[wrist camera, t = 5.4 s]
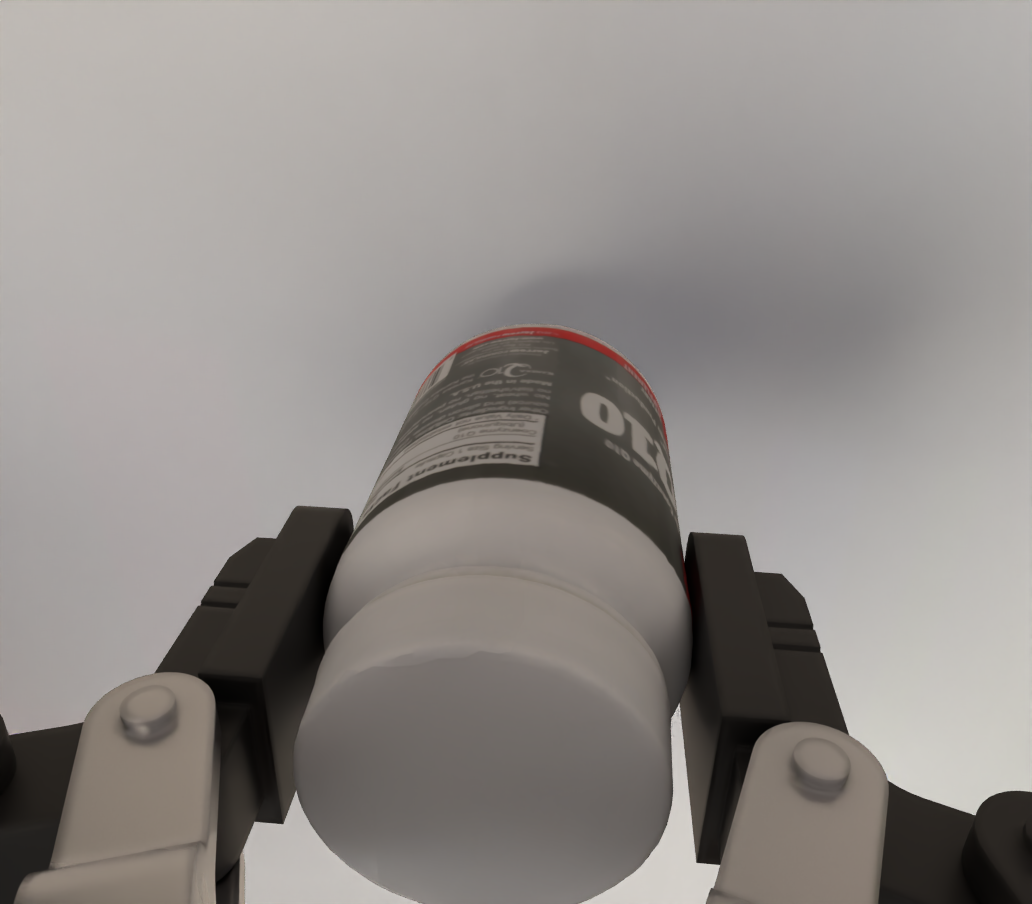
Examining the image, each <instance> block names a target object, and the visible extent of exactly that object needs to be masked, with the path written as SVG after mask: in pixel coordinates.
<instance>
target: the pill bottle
mask: <svg viewBox="0 0 1032 904" xmlns="http://www.w3.org/2000/svg"><path fill="white" fill-rule="evenodd" d="M323 642H324V649H325V654H324V656H323V659H322V661H321V663H320V666H319V669H318V672H317V675H316V680H315V685H314V687H313V690H312V693H311V696H310V699H309V702H308V704H307V707H306V710H305V713H304V715H303V718H302V721H301V723H300V727H299V730H298V734H297V737H296V740H295V745H294V753H293V775H294V782H295V787H296V790H297V794H298V798H299V801H300V804H301V806H302V808H303V811H304V813H305V815H306V816H307V818H308V820H309V822H310V824H311V826H312V827H313V828H314V830H315V831H316V833H317V834H318V835H319V837H320V838H321V839H322V840H323V842H324V843H325V844H326V845H327V847H328V848H329V849H330V850H331V851H332V852H333V853H335V854H336V855H337V856H338V857H339V858H340V859H341V860H343V861H344V862H345V863H346V864H347V865H348V866H349V867H351V868H352V869H354V870H355V871H357V872H358V873H360V874H361V875H362V876H364V877H365V878H367V879H368V880H370V881H371V882H373V883H375V884H377V885H378V886H380V887H382V888H384V889H386V890H388V891H391V892H393V893H395V894H398V895H400V896H403V897H405V898H408V899H411V900H414V901H417V902H419V903H422V904H578V903H581V902H584V901H587V900H589V899H591V898H593V897H595V896H597V895H599V894H601V893H603V892H605V891H606V890H608V889H610V888H612V887H614V886H615V885H617V884H618V883H619V882H621V881H622V880H624V879H625V878H626V877H628V876H629V875H631V874H632V873H634V872H635V871H636V870H637V869H638V868H639V867H640V866H641V865H642V864H643V863H644V861H645V860H646V859H647V858H648V857H649V855H650V853H651V852H652V851H653V849H654V848H655V847H656V846H657V844H658V843H659V841H660V839H661V837H662V835H663V832H664V830H665V828H666V826H667V822H668V818H669V814H670V810H671V806H672V797H673V777H672V753H671V718H672V716H673V714H674V712H675V710H676V708H677V706H678V704H679V702H680V700H681V698H682V696H683V693H684V690H685V688H686V685H687V683H688V678H689V674H690V669H691V660H692V649H693V631H692V606H691V603H690V598H689V591H688V583H687V576H686V571H685V564H684V558H683V550H682V544H681V536H680V528H679V523H678V514H677V508H676V500H675V493H674V486H673V478H672V471H671V464H670V456H669V449H668V440H667V434H666V428H665V423H664V419H663V415H662V412H661V409H660V406H659V403H658V401H657V399H656V396H655V394H654V392H653V391H652V389H651V387H650V385H649V384H648V382H647V381H646V379H645V377H644V376H643V375H642V374H641V372H640V371H639V370H638V369H637V368H636V367H635V366H634V365H633V364H632V363H631V362H630V361H629V360H628V359H627V358H626V357H625V356H624V355H623V354H621V353H620V352H619V351H617V350H616V349H615V348H613V347H612V346H610V345H609V344H607V343H606V342H604V341H602V340H601V339H598V338H596V337H594V336H592V335H590V334H588V333H585V332H582V331H579V330H576V329H573V328H569V327H565V326H559V325H551V324H519V325H510V326H505V327H500V328H496V329H493V330H489V331H486V332H484V333H481V334H479V335H476V336H474V337H472V338H470V339H468V340H467V341H465V342H463V343H462V344H460V345H459V346H457V347H456V348H454V349H453V350H452V351H450V352H449V353H448V354H447V355H446V356H445V357H444V358H443V359H442V360H441V361H440V362H439V363H438V364H437V365H436V366H435V367H434V368H433V370H432V371H431V372H430V374H429V375H428V376H427V378H426V379H425V381H424V382H423V384H422V386H421V387H420V389H419V391H418V393H417V395H416V397H415V400H414V402H413V404H412V406H411V408H410V410H409V412H408V415H407V417H406V419H405V421H404V423H403V425H402V428H401V430H400V432H399V434H398V436H397V438H396V441H395V443H394V445H393V447H392V449H391V452H390V454H389V456H388V458H387V460H386V462H385V464H384V467H383V469H382V471H381V473H380V475H379V477H378V479H377V481H376V484H375V486H374V488H373V490H372V493H371V494H370V496H369V499H368V501H367V504H366V506H365V508H364V510H363V512H362V514H361V516H360V518H359V521H358V523H357V525H356V527H355V529H354V531H353V533H352V536H351V537H350V539H349V541H348V543H347V545H346V547H345V549H344V551H343V553H342V555H341V557H340V560H339V562H338V564H337V567H336V571H335V574H334V576H333V579H332V581H331V584H330V587H329V591H328V594H327V598H326V602H325V609H324V616H323Z"/></svg>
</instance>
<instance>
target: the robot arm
mask: <svg viewBox="0 0 1032 904" xmlns="http://www.w3.org/2000/svg"><path fill="white" fill-rule="evenodd" d="M353 531H354V527H353V519H352V515H351V512H350V510H349V509H342V508H326V507H311V506H296V507H295V508H294V510H293V511H292V513H291V514H290V516H289V518H288V520H287V521H286V523H285V525H284V526H283V528H282V530H281V532H280V533H279V535H278V537H277V538H276V539H273V538H258V537H257V538H256V539H254V540H253V541H252V542H250V543H249V544H247V545H246V546H245V547H243V548H242V549H240V550H239V551H238V552H236V553H235V554H233V555H232V556H231V557H229V559H228V560H227V562H226V564H225V565H224V567H223V568H222V570H221V571H220V573H219V574H218V576H217V577H216V579H215V581H214V586H211V587H210V588H209V590H208V591H207V593H206V594H205V596H204V597H203V599H202V601H201V606H198V607H197V608H196V610H195V611H194V613H193V614H192V616H191V618H190V619H189V621H188V622H187V624H186V625H185V627H184V628H183V630H182V631H181V633H180V634H179V636H178V638H177V639H176V641H175V642H174V644H173V645H172V647H171V648H170V650H169V651H168V653H167V655H166V656H165V658H164V659H163V661H162V662H161V664H160V665H159V667H158V668H157V670H156V671H155V673H154V674H150V675H145V676H142V677H138V678H135V679H133V680H130V681H128V682H125V683H123V684H121V685H120V686H118V687H116V688H114V689H113V690H111V691H110V692H108V693H107V694H105V695H104V696H103V697H102V698H101V699H100V700H99V701H97V702H96V704H95V705H94V706H93V707H92V708H91V709H90V711H89V713H88V714H87V716H86V718H85V720H84V722H82V723H78V724H73V725H69V726H63V727H57V728H51V729H44V730H38V731H32V732H26V733H20V734H14V735H8V732H7V729H6V726H5V723H4V720H3V718H2V716H1V715H0V904H245V860H244V854H243V848H244V846H245V843H246V841H247V838H248V836H249V834H250V831H251V829H252V826H253V824H254V822H264V823H276V824H284V821H285V818H286V816H287V813H288V810H289V808H290V805H291V802H292V800H293V797H294V795H295V792H296V787H295V782H294V775H293V753H294V745H295V740H296V737H297V734H298V730H299V727H300V723H301V721H302V718H303V715H304V713H305V710H306V707H307V704H308V702H309V699H310V696H311V693H312V690H313V687H314V685H315V680H316V675H317V672H318V669H319V666H320V663H321V661H322V659H323V656H324V654H325V649H324V642H323V616H324V609H325V602H326V598H327V594H328V591H329V587H330V584H331V581H332V579H333V576H334V574H335V571H336V567H337V564H338V562H339V560H340V557H341V555H342V553H343V551H344V549H345V547H346V545H347V543H348V541H349V539H350V537H351V536H352V533H353ZM684 564H685V571H686V576H687V583H688V591H689V598H690V603H691V606H692V631H693V649H692V660H691V669H690V674H689V678H688V683H687V685H686V688H685V690H684V693H683V696H682V698H681V700H680V711H681V720H682V730H683V739H684V749H685V758H686V768H687V777H688V787H689V796H690V806H691V815H692V825H693V834H694V844H695V853H696V863H706V864H717V865H720V868H719V872H718V876H717V879H716V882H715V886H714V889H713V888H711V890H710V892H709V895H708V898H707V901H706V904H1032V792H1025V791H1007V792H1003V793H998V794H995V795H993V796H991V797H989V798H988V799H986V800H985V801H984V802H983V803H982V804H981V806H980V807H979V809H978V810H977V813H976V816H975V815H972V814H969V813H966V812H963V811H960V810H957V809H954V808H951V807H948V806H945V805H942V804H939V803H936V802H933V801H930V800H927V799H924V798H922V797H919V796H916V795H914V794H911V793H909V792H907V791H905V790H903V789H901V788H899V787H897V786H896V785H894V784H893V783H891V782H889V781H888V780H887V776H886V774H885V772H884V769H883V767H882V766H881V764H880V763H879V761H878V760H877V758H876V757H875V756H874V755H873V754H872V753H871V752H870V751H869V750H868V749H867V748H866V747H865V746H864V745H862V744H861V743H860V742H859V741H857V740H855V739H854V738H852V737H851V736H849V733H848V730H847V727H846V724H845V721H844V718H843V715H842V712H841V709H840V705H839V702H838V699H837V696H836V693H835V690H834V687H833V684H832V681H831V678H830V675H829V672H828V669H827V666H826V662H825V659H824V656H823V653H820V644H819V641H818V638H817V635H816V632H815V630H813V623H812V619H811V616H810V613H809V610H808V607H807V604H806V601H805V598H804V597H803V596H802V595H801V594H800V593H799V592H798V591H797V590H796V589H795V588H794V586H793V585H792V584H791V583H790V582H789V581H788V580H787V579H786V578H785V577H784V576H783V575H782V574H777V573H763V572H754V570H753V566H752V562H751V558H750V554H749V550H748V547H747V543H746V539H745V537H744V536H743V535H729V534H714V533H698V532H690V534H689V537H688V542H687V548H686V555H685V562H684Z"/></svg>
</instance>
